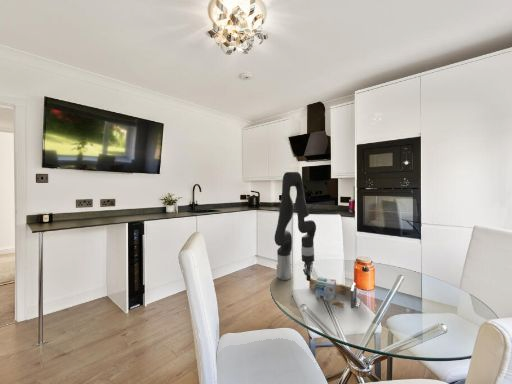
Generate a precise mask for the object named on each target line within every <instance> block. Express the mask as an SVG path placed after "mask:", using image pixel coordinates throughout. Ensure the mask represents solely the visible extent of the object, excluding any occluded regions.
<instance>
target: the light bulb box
mask: <svg viewBox="0 0 512 384" xmlns="http://www.w3.org/2000/svg"><path fill="white" fill-rule="evenodd" d="M316 279H317V281H316V289H315V298H316V299H320V300H325V301H328V302H331V303H332V300H335V301H336V297H337V294H336V283H337V280H336V279H334V278H328V277H323V276H318V277H317V278H316Z"/></svg>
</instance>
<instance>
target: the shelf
mask: <svg viewBox="0 0 512 384" xmlns="http://www.w3.org/2000/svg"><path fill="white" fill-rule="evenodd" d="M317 279H318V278H314V277H311V280H310V281H308V282H309V285H308V287H309V289H313V290H316V281H317ZM351 288H352V285H347V284H343V283H337V282H336V295H340V296H345V297H350V298H351ZM357 288H358V287H356V290H355V298H356V299H357V294H358V293H357ZM344 304H345V303H344V302H343V301H339V300H336V299H335V300H332V302H331V305H332V306H335V307H341V308H344V306H345V305H344Z"/></svg>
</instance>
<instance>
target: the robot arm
mask: <svg viewBox="0 0 512 384" xmlns="http://www.w3.org/2000/svg"><path fill="white" fill-rule="evenodd" d="M291 187H295V190H296V196H295V201H294V202H293V199H292V196H291ZM294 211H296V214H297V229H298V231H299V232H300V233H301V234H305V235H302V236H301V261H302V262H303V263H304V264H303V267H304V268H303V269H302V271H303V273H304V275H305V276H306V281H307V282H309V281H310V280H311V278H312V276H311V275H312V271H313V267H314V265H313V264H314V262H315V247H314V239H315V235H316V230H317V225H316V222H315V221H314V220H312V219H310V220H309V219H307V220H305V218H307V217H309V215H310V211H309V209H308V205H307V203H306V198H305V190H304V183H303V178H302V175H301V173H300V172H298V171H286V172H284V174H283V177H282V185H281V199H280V205H279V212H278V219H277V224H276V229H275V232H274V242H275V244H276V245H277V246H278V247H279V248H277V250H276V253H277V254H276V255H277V256H276V257H277V258H276V259H277V264H276V278H277V279H279V280H282V281H289V280H290V279H291V278H292V260H291V259H292V257H291V255H292V254H291V252H292V249H293V248H292V247H293V238H292V237H293V236H292V234H291V232H290V231H289V230H286V229H287V227H288V225H289V223H290V221H291V220H292V218H293V216H294Z"/></svg>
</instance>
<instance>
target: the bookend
mask: <svg viewBox="0 0 512 384" xmlns="http://www.w3.org/2000/svg"><path fill="white" fill-rule="evenodd" d="M356 284H357V283H356V282H353V283H352V285H351V286H352V288H351V297H350V309H354V308H358V309H359V308H360V306H361V305H360V304H361V299H360V298H357V297H356V298H355V290H356V286H357V285H356Z"/></svg>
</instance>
